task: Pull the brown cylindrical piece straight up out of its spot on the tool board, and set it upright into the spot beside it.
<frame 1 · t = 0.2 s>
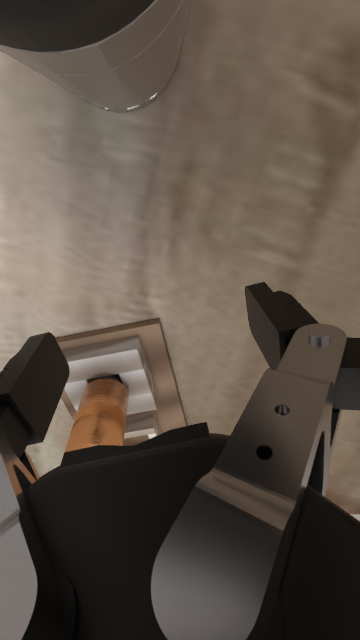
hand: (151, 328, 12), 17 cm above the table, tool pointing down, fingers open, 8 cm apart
tool board: (124, 399, 38), on the table
brown cylindrical piece: (110, 373, 34), point 1 cm above the table, touching tool board
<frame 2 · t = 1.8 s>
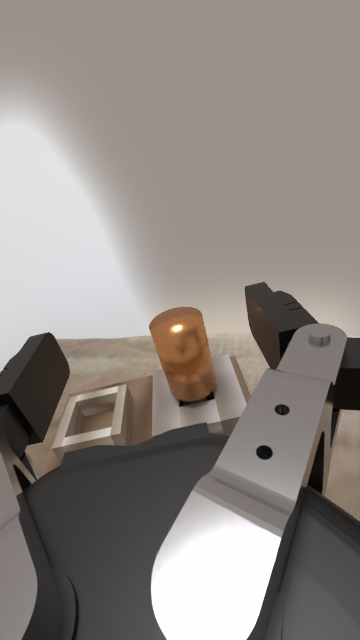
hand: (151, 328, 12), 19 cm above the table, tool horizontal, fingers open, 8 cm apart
tool board: (152, 424, 32), on the table
brown cylindrical piece: (199, 407, 31), point 1 cm above the table, touching tool board
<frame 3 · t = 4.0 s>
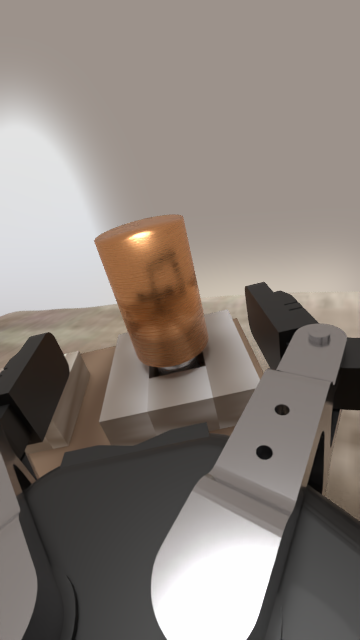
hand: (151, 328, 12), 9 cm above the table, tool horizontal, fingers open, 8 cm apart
tool board: (113, 408, 22), on the table
brown cylindrical piece: (183, 382, 21), point 1 cm above the table, touching tool board
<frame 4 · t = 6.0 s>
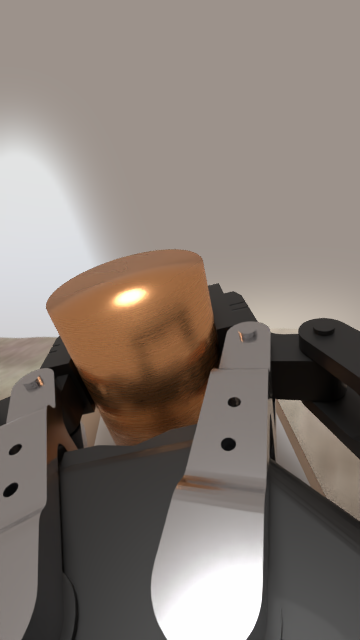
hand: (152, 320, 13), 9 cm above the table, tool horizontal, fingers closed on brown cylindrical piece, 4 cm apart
tool board: (94, 517, 15), on the table
brown cylindrical piece: (195, 485, 14), point 1 cm above the table, touching gripper, tool board
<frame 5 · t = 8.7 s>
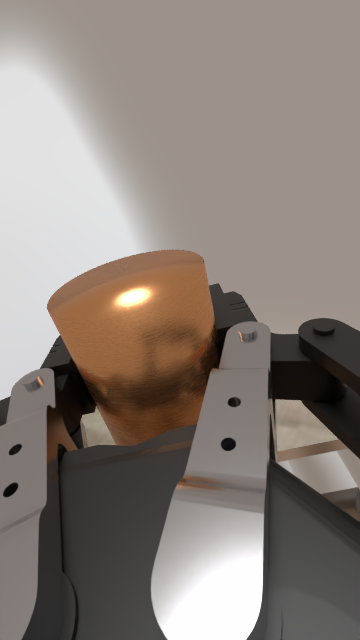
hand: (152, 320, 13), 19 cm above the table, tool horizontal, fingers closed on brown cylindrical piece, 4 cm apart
tool board: (261, 562, 20), on the table
brown cylindrical piece: (196, 485, 14), point 11 cm above the table, touching gripper
when the fingers open (10 cm above the table, at t = 11.6 s): brown cylindrical piece stays where it is, resting on tool board.
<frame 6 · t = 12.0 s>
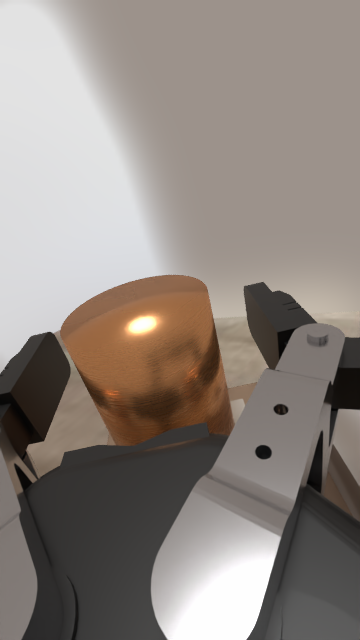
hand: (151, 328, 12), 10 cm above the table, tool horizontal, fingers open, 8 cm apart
tool board: (308, 486, 15), on the table
brown cylindrical piece: (200, 498, 15), point 1 cm above the table, touching tool board
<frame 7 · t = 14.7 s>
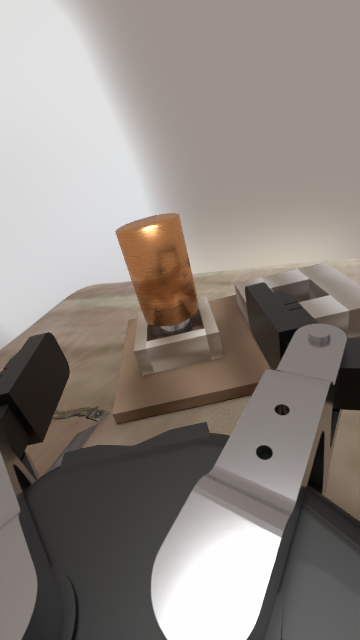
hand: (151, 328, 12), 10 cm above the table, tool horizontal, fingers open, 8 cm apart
tool board: (240, 338, 27), on the table
brown cylindrical piece: (180, 343, 27), point 1 cm above the table, touching tool board
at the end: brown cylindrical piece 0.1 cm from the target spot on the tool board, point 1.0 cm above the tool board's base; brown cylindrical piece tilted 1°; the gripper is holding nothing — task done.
